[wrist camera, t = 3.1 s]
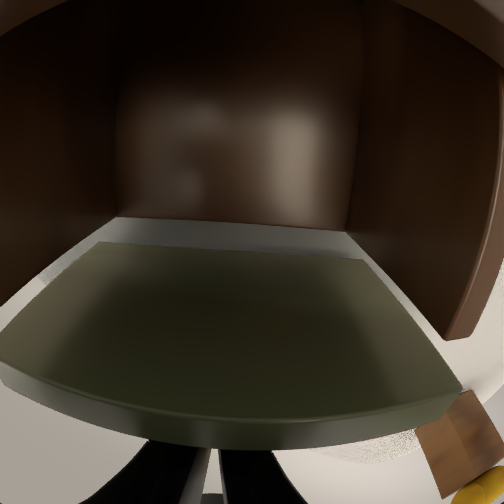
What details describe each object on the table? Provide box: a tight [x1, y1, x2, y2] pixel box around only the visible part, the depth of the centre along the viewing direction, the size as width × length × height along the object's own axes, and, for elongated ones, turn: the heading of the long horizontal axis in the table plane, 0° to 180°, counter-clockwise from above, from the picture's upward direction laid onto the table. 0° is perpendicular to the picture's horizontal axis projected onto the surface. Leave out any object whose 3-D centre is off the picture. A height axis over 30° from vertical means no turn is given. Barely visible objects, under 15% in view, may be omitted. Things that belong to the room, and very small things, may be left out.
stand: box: [415, 390, 504, 499], centre depth 13 cm, size 5×5×9 cm
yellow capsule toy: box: [451, 466, 504, 504], centre depth 8 cm, size 7×4×4 cm, turn 85°
